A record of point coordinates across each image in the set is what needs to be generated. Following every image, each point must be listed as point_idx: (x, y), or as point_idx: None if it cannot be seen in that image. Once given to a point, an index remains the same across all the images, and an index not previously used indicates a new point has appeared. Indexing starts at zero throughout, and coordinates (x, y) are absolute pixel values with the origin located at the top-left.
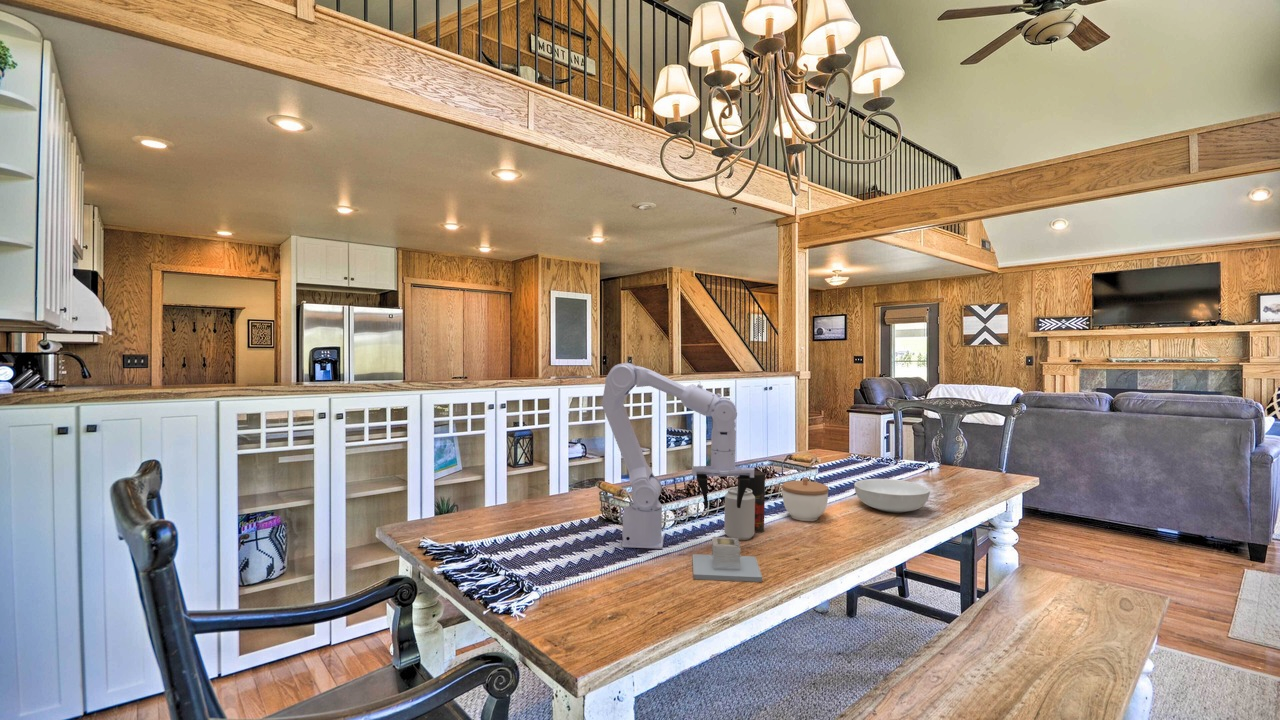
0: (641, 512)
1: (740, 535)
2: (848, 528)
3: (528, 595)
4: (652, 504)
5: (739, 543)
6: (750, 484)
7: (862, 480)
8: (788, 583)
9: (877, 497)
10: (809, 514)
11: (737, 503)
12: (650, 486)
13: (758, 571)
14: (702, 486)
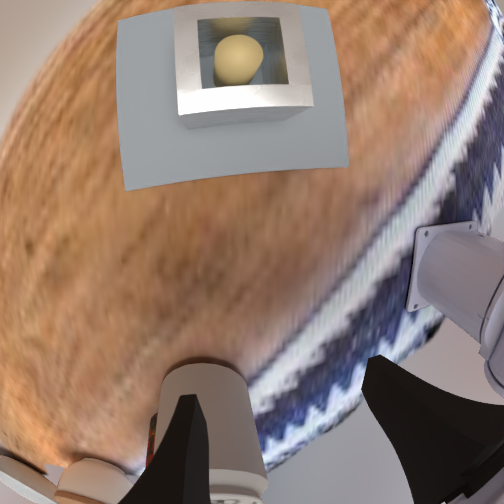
0: None
1: (195, 368)
2: (26, 427)
3: (499, 26)
4: None
5: (174, 38)
6: None
7: None
8: (57, 50)
9: (23, 478)
10: (82, 464)
11: (197, 416)
12: None
13: (122, 54)
14: (474, 409)
